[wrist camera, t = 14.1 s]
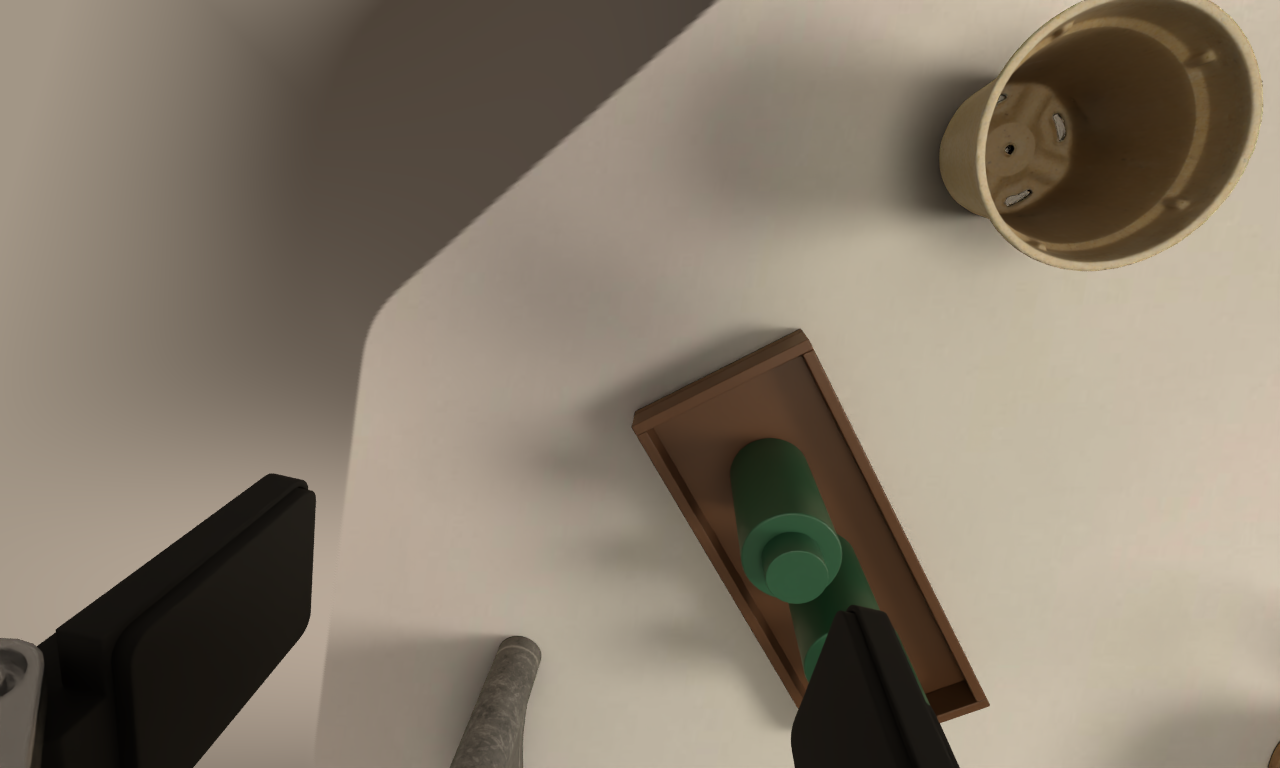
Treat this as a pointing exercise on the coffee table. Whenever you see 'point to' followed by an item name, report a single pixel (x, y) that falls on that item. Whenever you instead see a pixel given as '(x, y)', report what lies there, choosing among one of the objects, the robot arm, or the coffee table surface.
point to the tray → (857, 505)
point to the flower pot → (1109, 131)
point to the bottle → (782, 522)
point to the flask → (501, 709)
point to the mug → (1275, 758)
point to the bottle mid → (830, 607)
